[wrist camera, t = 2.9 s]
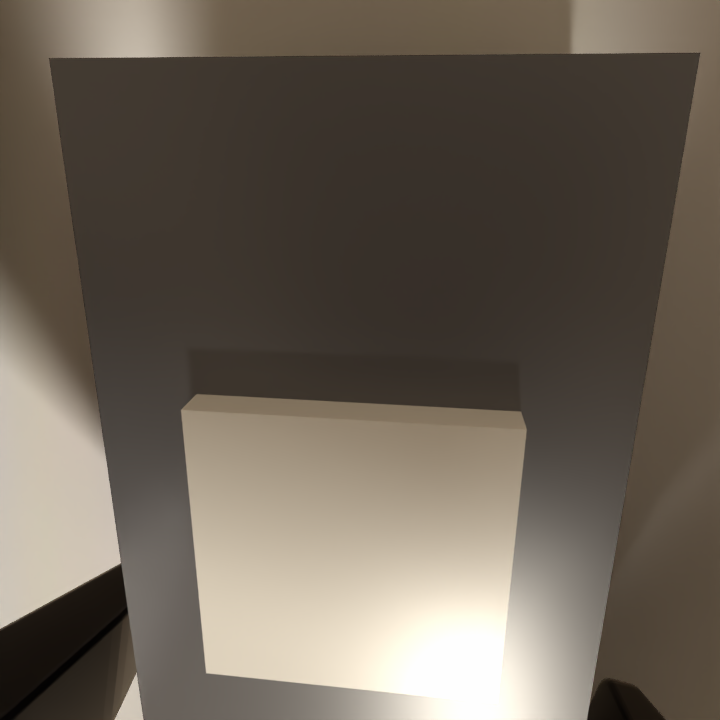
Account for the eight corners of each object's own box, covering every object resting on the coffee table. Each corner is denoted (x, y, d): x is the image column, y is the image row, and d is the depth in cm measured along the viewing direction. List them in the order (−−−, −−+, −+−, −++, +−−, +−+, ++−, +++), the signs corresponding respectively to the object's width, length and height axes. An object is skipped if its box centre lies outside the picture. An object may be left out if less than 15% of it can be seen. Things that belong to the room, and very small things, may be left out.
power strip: (565, 100, 7) (749, 36, 3) (480, 886, 12) (505, 1309, 8) (238, 101, 8) (-14, 43, 3) (278, 858, 12) (191, 1241, 8)
